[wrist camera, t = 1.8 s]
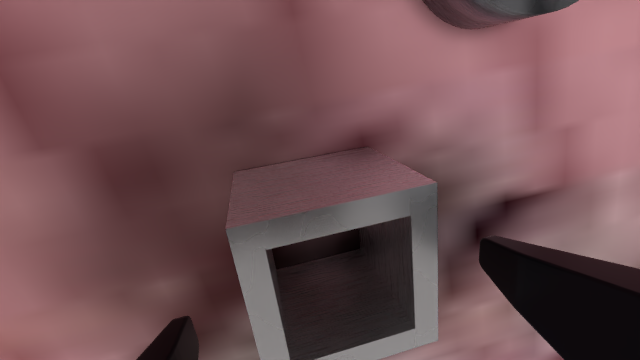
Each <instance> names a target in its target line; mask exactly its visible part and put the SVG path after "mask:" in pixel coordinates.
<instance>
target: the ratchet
mask: <svg viewBox="0 0 640 360" xmlns="http://www.w3.org/2000/svg"><path fill="white" fill-rule="evenodd" d="M577 1H579V0H423V2H424V3H425V4H426V5H427V7H428V8H429V9H430V10H431V11H432V12H433V13H434V14H435V15H436V16H437V17H439V18H440V19H442V20H443V21H445V22H447V23H449V24H451V25H453V26H456V27H460V28H465V29H481V28H485V27H490V26H494V25H499V24H503V23H507V22H511V21H516V20H520V19H524V18H529V17H533V16H537V15H541V14H546V13H550V12H554V11H558V10H560V9H563V8H566V7H568V6H570V5H572V4H573V3H575V2H577Z"/></svg>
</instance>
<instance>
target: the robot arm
mask: <svg viewBox="0 0 640 360" xmlns="http://www.w3.org/2000/svg"><path fill="white" fill-rule="evenodd" d="M479 262H480V265H481V267H482V269H483V270H484V271H485V272H486V274H487V275H488V276H489V277H490V279H491V280H492V281H493V282H494V283H495V285H496V286H497V287H498V288H499V290H500V291H501V292H502V293H503V295H504V296H505V297H506V298H507V300H508V301H509V302H510V303H511V304H512V306H513V307H514V308H515V309H516V310H517V311H518V312H519V313H520V314H521V315H522V316H523V317H524V318H525V320H526V321H527V322H528V323H529V324H530V325H531V326H532V327H533V328H534V329H535V330H536V331H537V332H538V333H539V334H540V335H541V336H542V337H543V338H544V339H545V340H546V341H547V342H548V343H549V344H550V345H551V346H552V348H553V349H554V350H555V351H556V352H557V353H558V354H559V355H560V356H561V357H562V358H563V359H564V360H640V269H637V268H633V267H629V266H624V265H620V264H616V263H611V262H607V261H603V260H598V259H594V258H590V257H585V256H581V255H577V254H572V253H568V252H564V251H559V250H555V249H551V248H546V247H542V246H538V245H533V244H529V243H525V242H521V241H516V240H512V239H508V238H503V237H499V236H489V237H485V238H482V239H481V241H480V251H479ZM198 353H199V343H198V338H197V335H196V332H195V329H194V326H193V323H192V320H191V318H190V317H189V316H183V317H180V318H176V319H173V320H172V321H171V322H170V323H169V324H168V325H167V326H166V327H165V328H164V329H163V331H162V332H161V333H160V334H159V335H158V336H157V337H156V338H155V339H154V341H153V342H152V343H151V344H150V345H149V346H148V347H147V348H146V349H145V351H144V352H143V353H142V354H141V355H140V356H139V357H138V358H137V359H136V360H198Z"/></svg>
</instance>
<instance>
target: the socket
mask: <svg viewBox="0 0 640 360" xmlns="http://www.w3.org/2000/svg"><path fill="white" fill-rule="evenodd" d="M357 228H358V229H359V239H360V248H361V249H357V250H353V251H349V252H345V253H341V254H337V255H333V256H329V257H325V258H321V259H317V260H313V261H309V262H305V263H301V264H297V265H293V266H289V267H285V268H281V269H277V270H276V266H275V262H274V257H273V252H272V248H276V247H281V246H285V245H289V244H293V243H297V242H302V241H306V240H310V239H314V238H319V237H323V236H327V235H331V234H335V233H340V232H344V231H348V230H352V229H357ZM226 233H227V237H228V240H229V244H230V248H231V251H232V255H233V259H234V263H235V266H236V270H237V274H238V278H239V281H240V285H241V289H242V293H243V296H244V300H245V304H246V308H247V311H248V315H249V319H250V323H251V326H252V330H253V334H254V338H255V341H256V345H257V349H258V353H259V356H260V360H378V359H382V358H385V357H388V356H391V355H394V354H397V353H400V352H404V351H407V350H410V349H413V348H416V347H419V346H422V345H426V344H429V343H432V342H435V341H438V220H437V182H435V181H433V180H432V179H430V178H428V177H426V176H424V175H422V174H420V173H418V172H416V171H414V170H412V169H410V168H409V167H407V166H405V165H403V164H401V163H399V162H397V161H395V160H393V159H391V158H389V157H388V156H386V155H384V154H382V153H380V152H378V151H376V150H374V149H372V148H370V147H363V148H358V149H352V150H347V151H342V152H337V153H331V154H326V155H321V156H316V157H310V158H305V159H300V160H294V161H289V162H284V163H279V164H273V165H268V166H263V167H258V168H252V169H247V170H242V171H236V172H234V175H233V181H232V188H231V195H230V202H229V209H228V216H227V223H226Z"/></svg>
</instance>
